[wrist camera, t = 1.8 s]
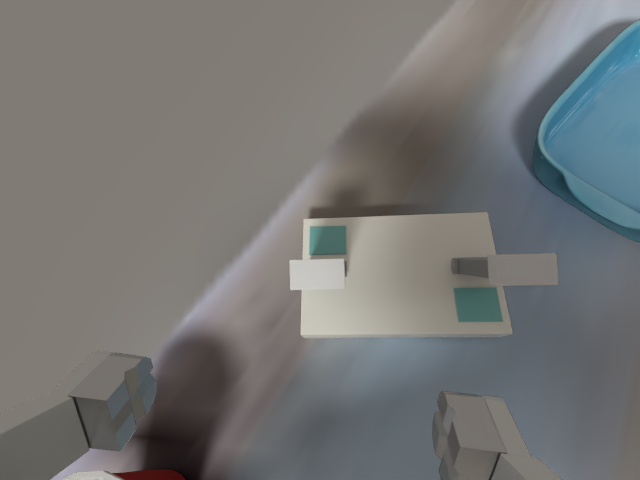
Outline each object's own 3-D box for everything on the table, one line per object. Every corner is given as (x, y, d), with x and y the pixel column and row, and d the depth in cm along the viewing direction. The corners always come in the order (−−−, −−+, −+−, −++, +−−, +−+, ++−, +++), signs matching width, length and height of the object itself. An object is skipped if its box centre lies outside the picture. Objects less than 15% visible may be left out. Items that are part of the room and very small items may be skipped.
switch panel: (501, 337, 37) (513, 333, 35) (304, 338, 40) (300, 334, 37) (479, 223, 43) (488, 211, 40) (307, 229, 45) (303, 218, 42)
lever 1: (347, 278, 39) (344, 288, 27) (309, 279, 39) (290, 289, 27) (346, 257, 39) (344, 258, 27) (308, 258, 39) (289, 260, 27)
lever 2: (493, 275, 37) (558, 284, 25) (451, 276, 38) (497, 286, 26) (491, 254, 37) (556, 252, 26) (450, 255, 38) (495, 254, 26)
